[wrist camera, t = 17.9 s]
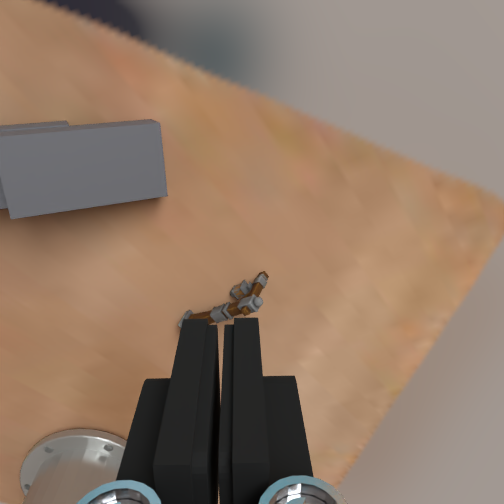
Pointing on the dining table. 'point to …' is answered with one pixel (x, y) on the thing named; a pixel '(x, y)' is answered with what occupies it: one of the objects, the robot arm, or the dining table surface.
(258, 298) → the wooden post with brackets
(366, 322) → the dining table surface
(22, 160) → the domino
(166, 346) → the dining table surface
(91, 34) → the dining table surface
